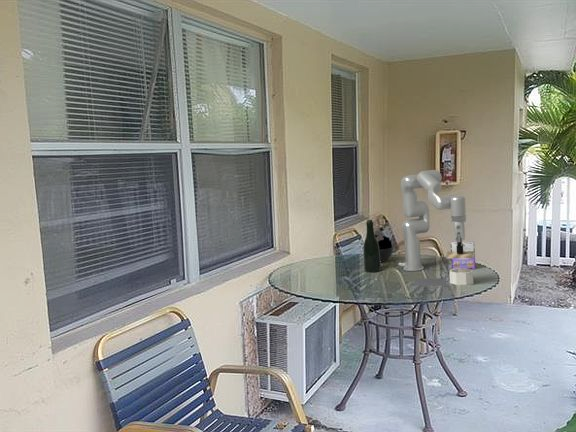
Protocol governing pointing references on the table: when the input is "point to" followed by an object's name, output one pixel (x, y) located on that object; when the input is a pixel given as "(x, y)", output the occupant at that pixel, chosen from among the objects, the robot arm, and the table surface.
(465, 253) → the lid
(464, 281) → the bowl
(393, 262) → the table surface
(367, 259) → the beer bottle
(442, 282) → the mat
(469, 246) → the candy box
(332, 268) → the table surface
